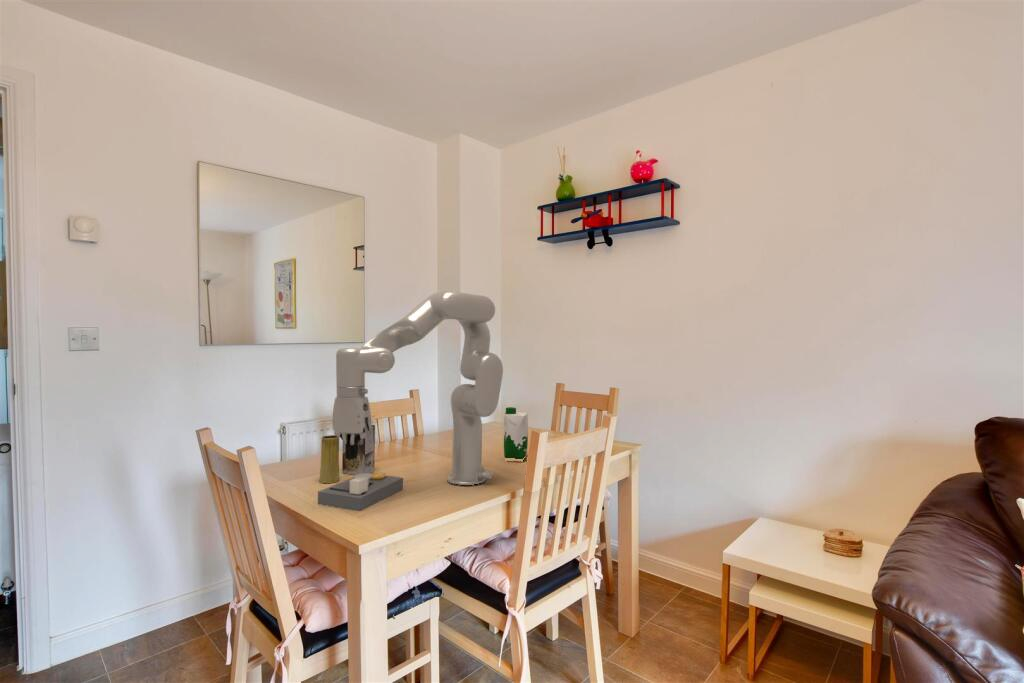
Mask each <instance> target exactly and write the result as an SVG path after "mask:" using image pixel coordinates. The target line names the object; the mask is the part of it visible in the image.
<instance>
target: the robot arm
mask: <svg viewBox="0 0 1024 683" xmlns="http://www.w3.org/2000/svg"><path fill="white" fill-rule="evenodd" d="M495 313H496V306H495V303H494V302H493V300H492V299H491V298H489V297H488V296H485V295H480V294H473V293H466V292H460V291H453V290H448V291H440V292H438V291H437V292H434V293H432V294H430V295H429V296H427V297H426V298H424V300H422V301H421V302H420V303H419V304H418V305H417V306H416V307H414V308H413V309H412V310H411V311H410V312H409V313H407V314H405V316H404V317H402V318H401V319H400V320H397V321H396V322H394V323H393V324H391V325H390V326H388V327H386V328H385V329H383V330H381V331H380V332H378V333H377V334H376V335H375V336H373V337H372V338H371V339H370V340H368V341H367V342H365V344H363V346H361V347H345V348H344V347H343V348H339V349H338V350H337V351H336V353H335V365H336V366H335V367H336V368H335V369H336V371H335V373H336V374H335V375H336V376H335V378H336V380H335V381H336V397H335V398H334V403H333V409H332V429H333V431H334V434H333V435H335V436H338V437H339V439H341V441H342V442H343V444H345V454H346V459H353V458H356V457H357V456H358V443H359V442H360V440H361V439H364V438H367V437H369V434H368V431H370V430H371V425H372V414H371V407H370V401H369V397H368V396H366V394H367V395H368V393H369V390H368V389H367V388H366V375H365V374H366V373H370V374H371V373H373V374H384V373H387V372H389V371H390V370H392V368H393V367H394V365H395V362H396V359H395V354H394V352H395V351H397V350H400V349H402V348H403V347H406V346H409V345H413V344H416V343H418V342H419V341H421V340H423V339H425V337H426V336H427V335H429V333H430V332H432V331H433V330H434V329H436V327H437V326H438V325H439V324H441V323H442V322H443V321H444V320H457V321H458V323H459V324H460V326H461V327H462V329H463V332H464V341H463V347H462V353H461V360H460V368H459V370H460V374H461V376H462V377H463V378H464V379H467V380H470V381H474V382H475V384H471V383H462V384H459V385H457V387H455V388H454V390H453V391H452V393H451V396H450V405H451V406H450V407H451V413H452V463H451V464H452V465H451V467H452V468H451V471H452V472H451V474H449V475H448V476H447V478H446V480H448V481H447V482H448V483H449V482H450V483H449V484H451V483H453V484H452V485H454V484H459V485H458V486H460V485H472V486H475V485H474V484H478V485H480V484H479V483H482V482H484V481H485V480H487V479H488V480H492V479H493V471H491V470H490V471H489V470H487V471H486V469H485V466H484V465H482V461H483V460H482V452H483V450H482V449H483V446H482V444H483V423H482V421H483V420H482V418H486V417H487V418H488V417H489V416H491V415H492V414H493V413H495V411H496V410H497V407H498V404H499V399H500V395H501V394H500V393H501V388H502V387H501V386H502V381H503V374H504V366H503V361H502V360H501V358H500V357H499V356H498V355H497V354H496V353H493V352H490V345H491V332H490V329H489V326H488V324H487V323H489V322H490V321H491V320H492V319H493V318H494V316H495ZM361 433H362V434H361ZM485 482H486V481H485ZM485 482H484V483H485ZM482 484H483V483H482Z"/></svg>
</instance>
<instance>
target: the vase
mask: <svg viewBox="0 0 1024 683" xmlns="http://www.w3.org/2000/svg"><path fill="white" fill-rule="evenodd" d="M320 448H321V452H320V468H319V470H320V472H319V483H320V482H321V484H325V483H329V484H336V483H338V482H340V462H339V460H340V458H339V457H340V454H339V452H340V437H338V436H335V435H334V434H330V435H329V434H328V435H323V436H322V437H321V446H320Z"/></svg>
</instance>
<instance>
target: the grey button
mask: <svg viewBox="0 0 1024 683" xmlns="http://www.w3.org/2000/svg"><path fill="white" fill-rule="evenodd" d="M371 474H372V473H371ZM371 474H369V473H360V474H356V475H354V476H353V477H354V478H357V477H365V478H368V486H369V479H371V476H372V475H371Z"/></svg>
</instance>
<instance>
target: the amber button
mask: <svg viewBox="0 0 1024 683" xmlns="http://www.w3.org/2000/svg"><path fill="white" fill-rule="evenodd" d="M371 475H372V476H371V480H376V481H380V480H382V479H383V478H385V475H386V473H384V472H372V473H371Z"/></svg>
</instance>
